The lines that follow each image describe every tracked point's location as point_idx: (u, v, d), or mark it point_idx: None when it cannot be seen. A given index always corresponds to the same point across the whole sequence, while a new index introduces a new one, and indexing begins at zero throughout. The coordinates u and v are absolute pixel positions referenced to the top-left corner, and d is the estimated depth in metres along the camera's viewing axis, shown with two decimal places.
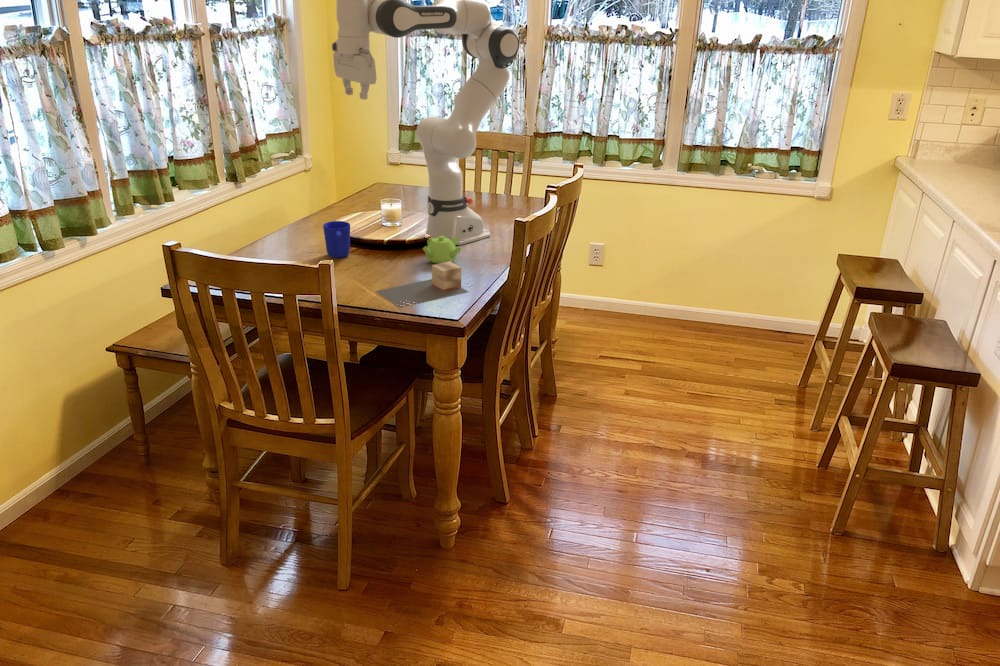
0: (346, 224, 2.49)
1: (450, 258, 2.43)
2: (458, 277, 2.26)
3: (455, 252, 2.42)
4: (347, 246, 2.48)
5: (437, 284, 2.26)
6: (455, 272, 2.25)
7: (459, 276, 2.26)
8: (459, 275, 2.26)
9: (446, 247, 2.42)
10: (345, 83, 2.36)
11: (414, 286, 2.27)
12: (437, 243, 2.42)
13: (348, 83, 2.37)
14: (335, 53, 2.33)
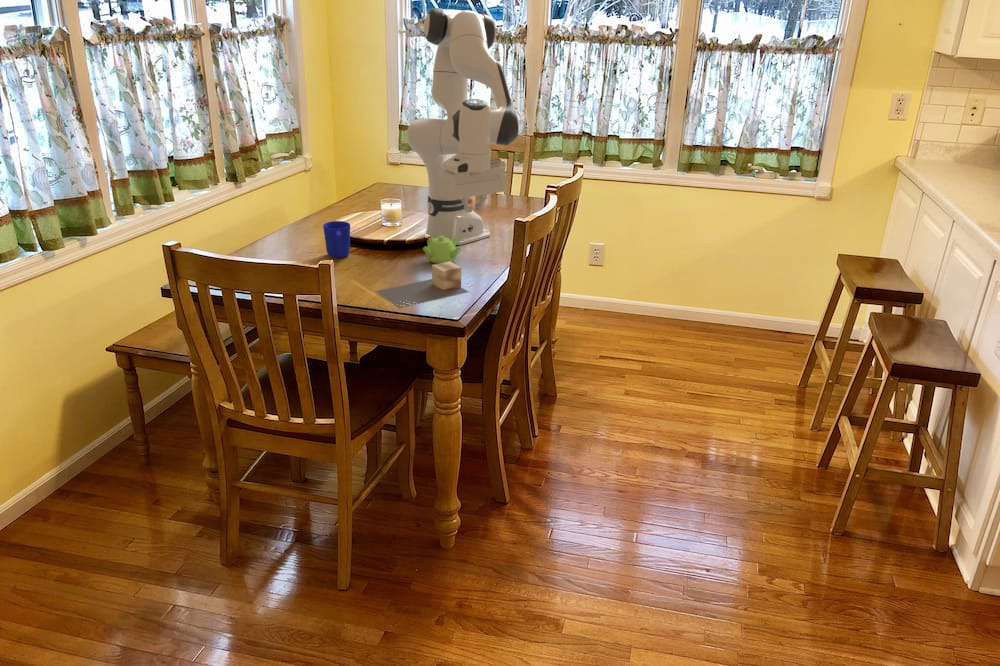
0: (346, 224, 2.49)
1: (450, 258, 2.43)
2: (458, 277, 2.26)
3: (455, 252, 2.42)
4: (347, 246, 2.48)
5: (437, 284, 2.26)
6: (455, 272, 2.25)
7: (459, 276, 2.26)
8: (459, 275, 2.26)
9: (446, 247, 2.42)
10: None
11: (414, 286, 2.27)
12: (437, 243, 2.42)
13: None
14: (458, 175, 2.14)
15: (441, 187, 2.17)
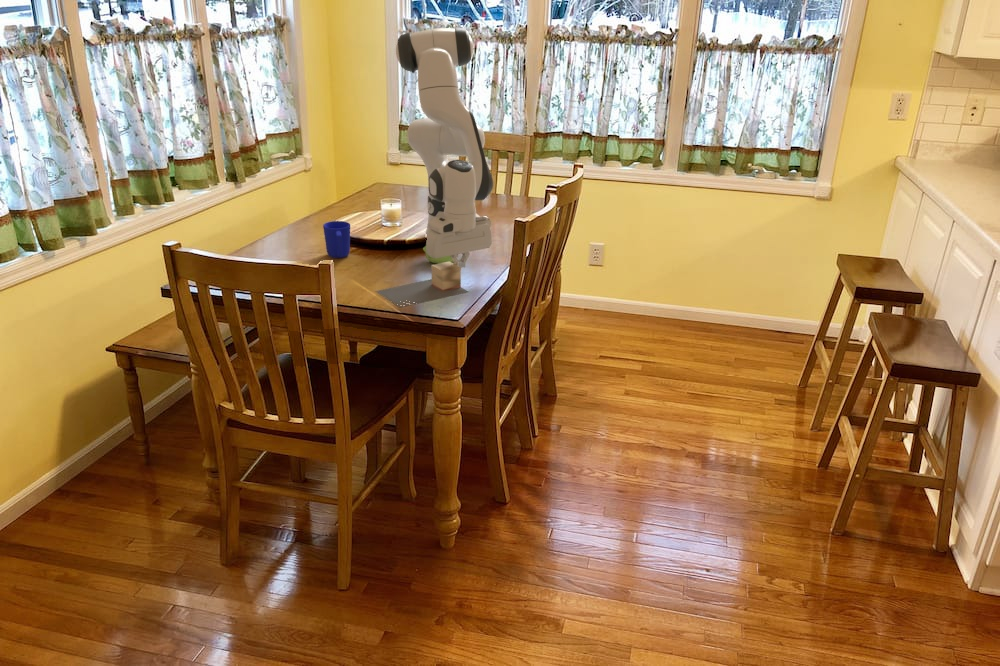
0: (346, 224, 2.49)
1: (450, 258, 2.43)
2: (458, 277, 2.26)
3: None
4: (347, 246, 2.48)
5: (437, 284, 2.26)
6: (454, 272, 2.25)
7: (459, 276, 2.26)
8: (459, 275, 2.26)
9: None
10: None
11: (414, 286, 2.27)
12: None
13: None
14: (443, 234, 2.18)
15: (427, 246, 2.21)
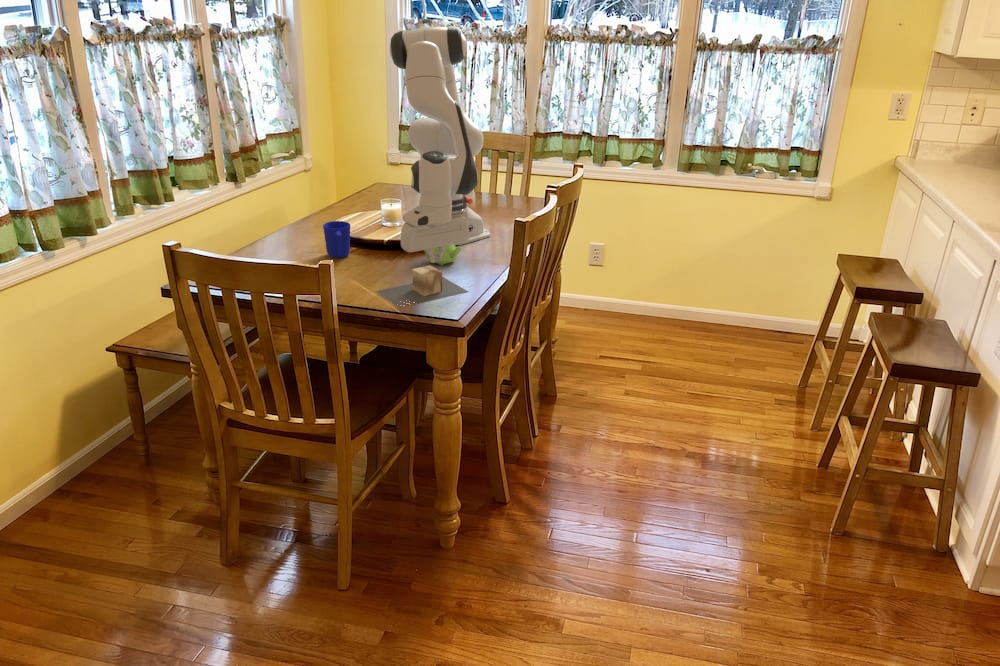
0: (346, 224, 2.49)
1: (450, 258, 2.43)
2: (432, 276, 2.21)
3: (455, 252, 2.42)
4: (347, 246, 2.48)
5: None
6: (427, 281, 2.20)
7: (431, 275, 2.20)
8: (430, 275, 2.20)
9: (446, 247, 2.42)
10: None
11: None
12: None
13: None
14: (418, 228, 2.13)
15: (402, 239, 2.15)
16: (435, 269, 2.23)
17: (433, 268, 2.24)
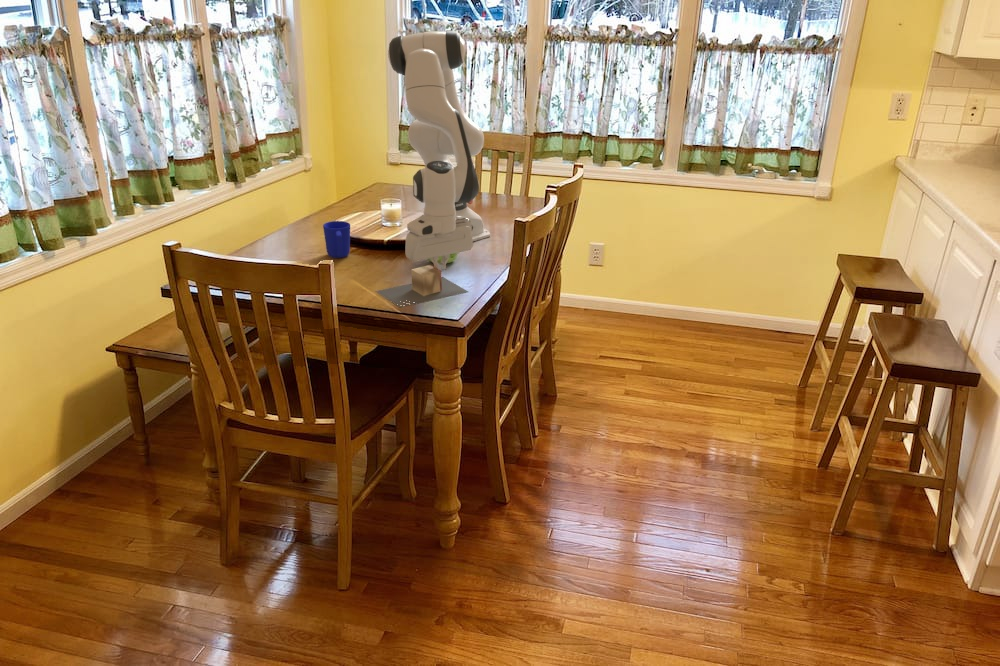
0: (346, 224, 2.49)
1: (450, 258, 2.43)
2: (431, 276, 2.20)
3: None
4: (347, 246, 2.48)
5: None
6: (426, 281, 2.20)
7: (430, 275, 2.20)
8: (429, 275, 2.20)
9: None
10: None
11: None
12: None
13: None
14: (423, 237, 2.15)
15: (406, 248, 2.17)
16: (434, 269, 2.23)
17: (432, 268, 2.24)
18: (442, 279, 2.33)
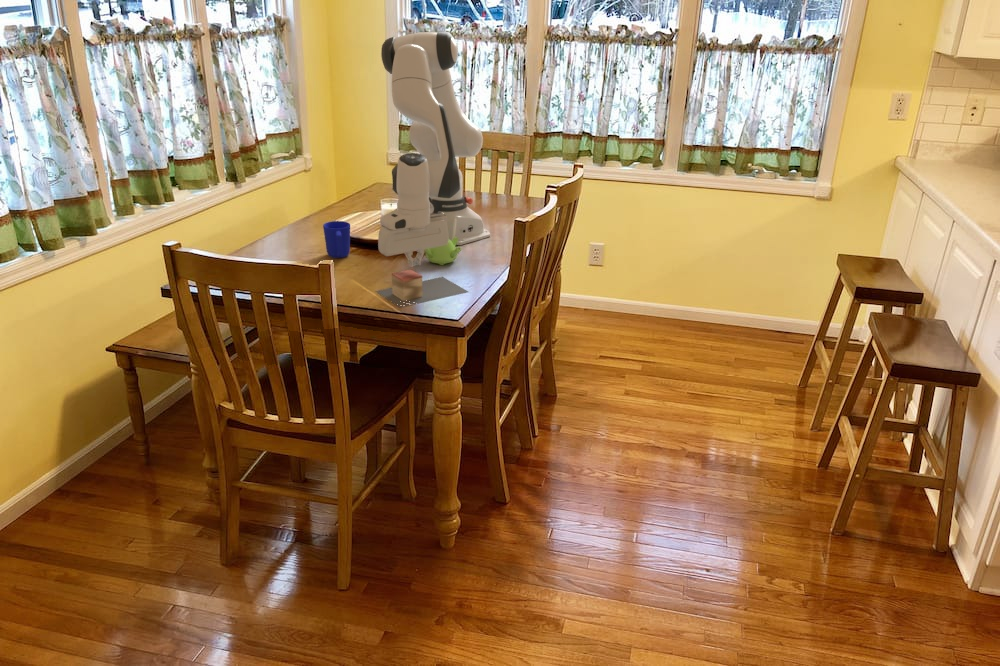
0: (346, 224, 2.49)
1: (450, 258, 2.43)
2: (406, 290, 2.17)
3: (455, 252, 2.42)
4: (347, 246, 2.48)
5: None
6: (409, 295, 2.18)
7: (405, 291, 2.17)
8: (405, 292, 2.17)
9: (446, 247, 2.42)
10: (410, 256, 2.17)
11: None
12: None
13: None
14: (396, 231, 2.09)
15: (379, 243, 2.12)
16: (398, 279, 2.17)
17: (396, 278, 2.18)
18: (442, 279, 2.33)
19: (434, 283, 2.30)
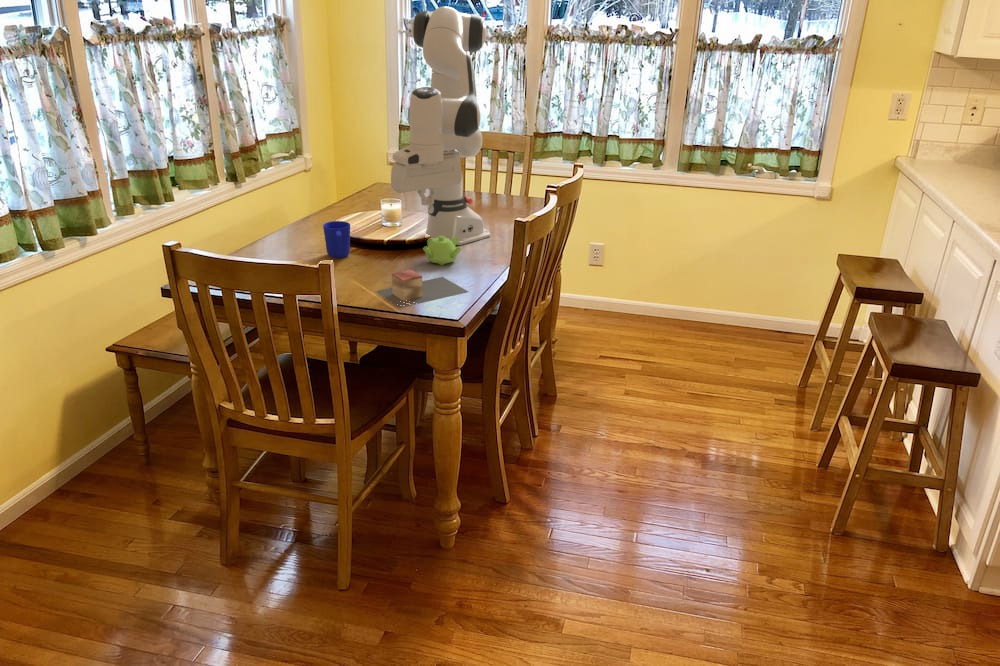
0: (346, 224, 2.49)
1: (450, 258, 2.43)
2: (406, 290, 2.17)
3: (455, 252, 2.42)
4: (347, 246, 2.48)
5: None
6: (409, 295, 2.18)
7: (405, 291, 2.17)
8: (405, 292, 2.17)
9: (446, 247, 2.42)
10: None
11: None
12: (437, 243, 2.42)
13: None
14: (409, 167, 2.05)
15: (392, 179, 2.08)
16: (398, 279, 2.17)
17: (396, 278, 2.18)
18: (442, 279, 2.33)
19: (434, 283, 2.30)
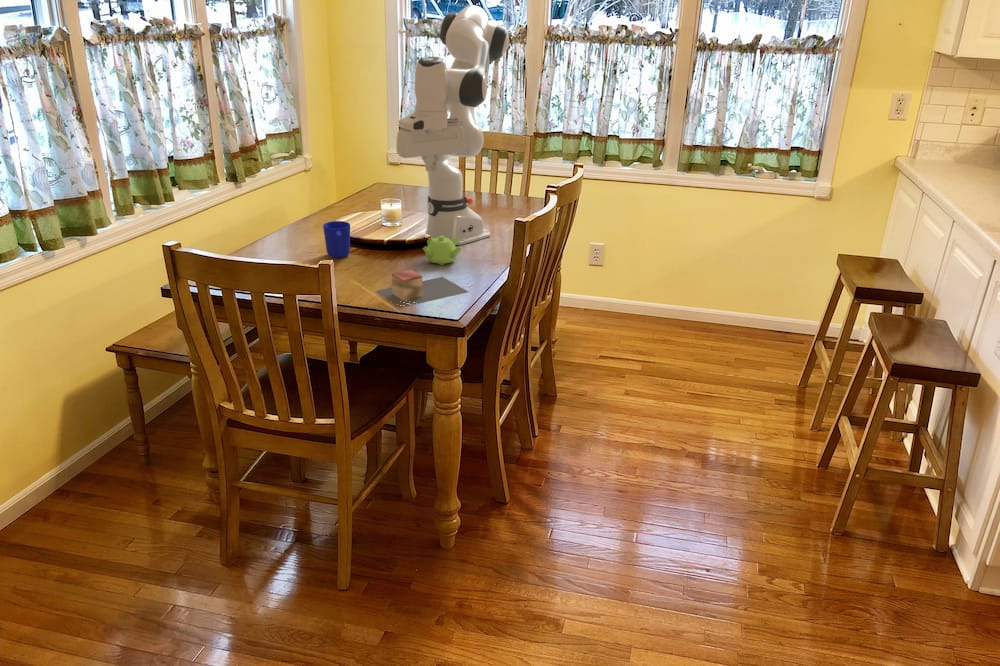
0: (346, 224, 2.49)
1: (450, 258, 2.43)
2: (406, 290, 2.17)
3: (455, 252, 2.42)
4: (347, 246, 2.48)
5: None
6: (409, 295, 2.18)
7: (405, 291, 2.17)
8: (405, 292, 2.17)
9: (446, 247, 2.42)
10: None
11: None
12: (437, 243, 2.42)
13: None
14: (414, 132, 2.14)
15: (397, 145, 2.17)
16: (398, 279, 2.17)
17: (396, 278, 2.18)
18: (442, 279, 2.33)
19: (434, 283, 2.30)
